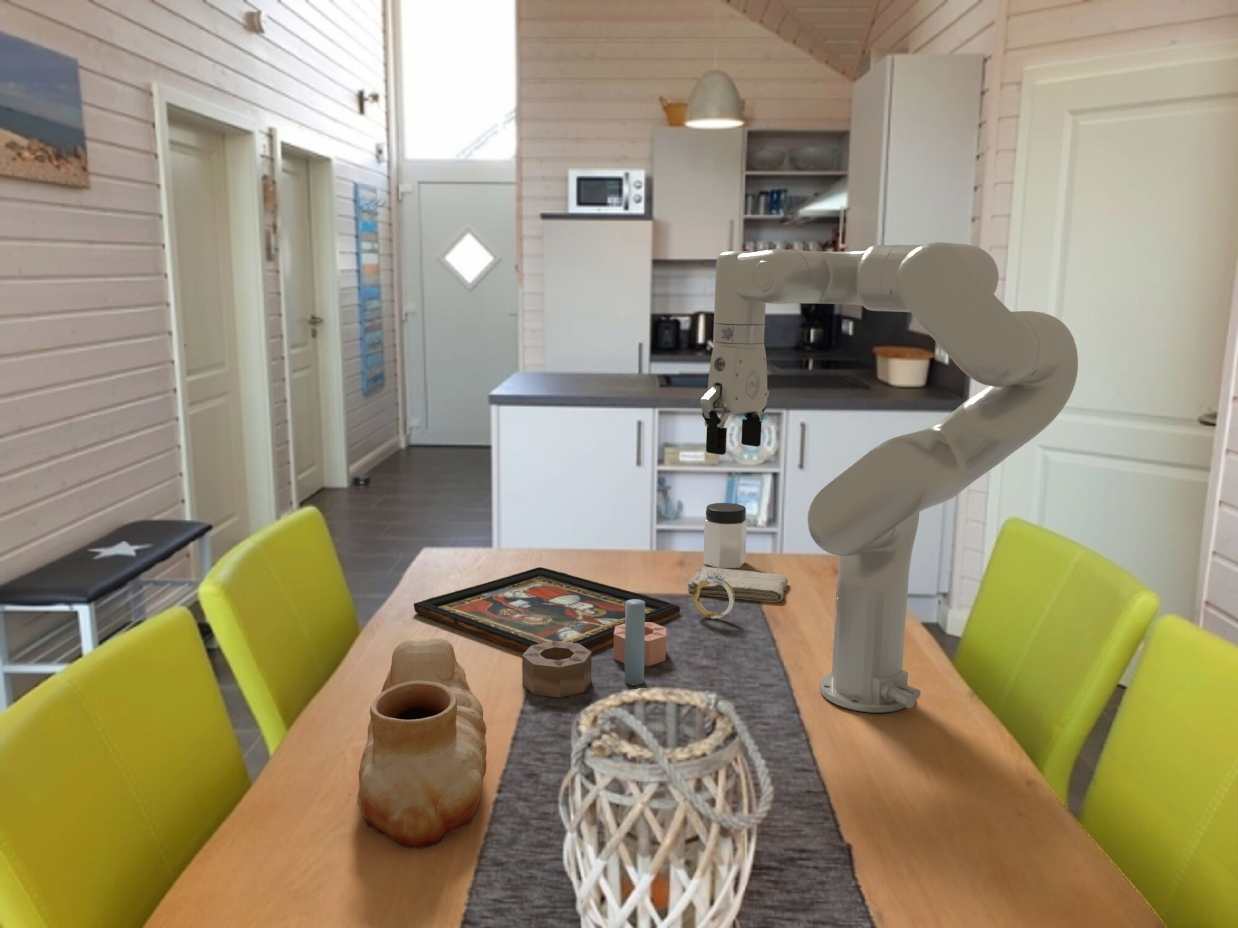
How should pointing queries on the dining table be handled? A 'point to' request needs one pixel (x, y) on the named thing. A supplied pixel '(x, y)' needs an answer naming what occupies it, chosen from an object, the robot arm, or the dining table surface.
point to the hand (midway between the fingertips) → (733, 449)
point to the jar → (725, 535)
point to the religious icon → (541, 610)
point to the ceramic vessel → (423, 748)
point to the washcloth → (742, 584)
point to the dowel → (634, 641)
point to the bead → (556, 669)
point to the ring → (714, 579)
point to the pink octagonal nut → (652, 643)
